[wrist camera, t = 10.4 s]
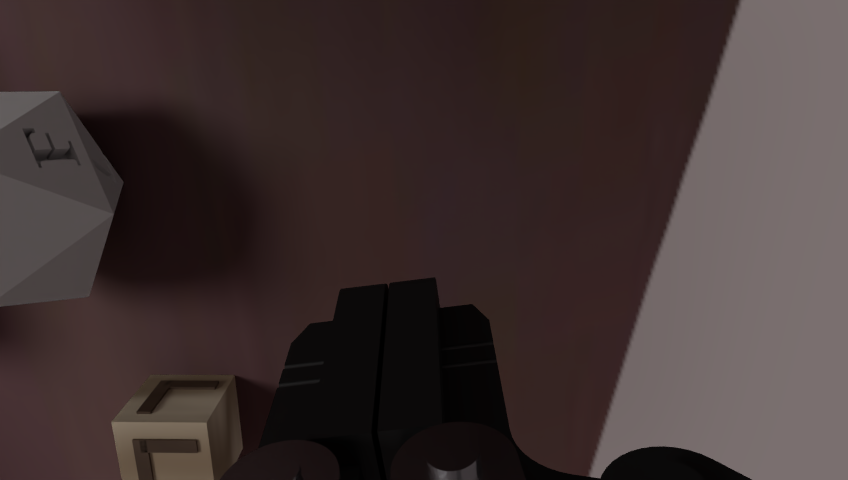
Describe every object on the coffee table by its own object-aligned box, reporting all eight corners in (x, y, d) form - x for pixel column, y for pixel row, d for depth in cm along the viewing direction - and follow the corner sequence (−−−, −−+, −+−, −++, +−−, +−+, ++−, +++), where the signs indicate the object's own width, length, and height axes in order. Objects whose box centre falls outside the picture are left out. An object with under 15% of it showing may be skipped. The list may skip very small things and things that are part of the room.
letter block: (151, 371, 32) (109, 421, 28) (234, 372, 32) (205, 421, 28) (162, 446, 33) (124, 503, 29) (243, 447, 33) (215, 504, 29)
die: (165, 279, 31) (147, 224, 22) (-42, 363, 28) (-162, 338, 19) (96, 122, 32) (50, 8, 23) (-114, 186, 29) (-261, 82, 20)
